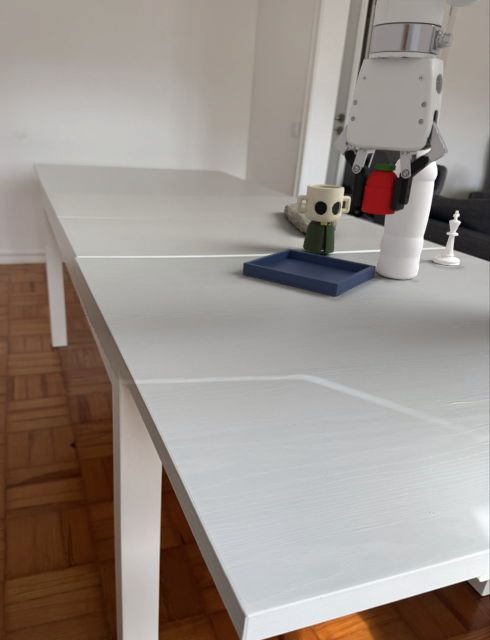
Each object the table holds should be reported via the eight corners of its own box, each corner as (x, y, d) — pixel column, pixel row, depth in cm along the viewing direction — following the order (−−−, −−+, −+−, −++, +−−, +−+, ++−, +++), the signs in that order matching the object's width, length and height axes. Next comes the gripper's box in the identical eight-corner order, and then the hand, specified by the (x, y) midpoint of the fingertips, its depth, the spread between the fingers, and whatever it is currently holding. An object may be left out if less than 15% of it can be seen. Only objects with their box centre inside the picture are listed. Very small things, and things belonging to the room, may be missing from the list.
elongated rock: (312, 218, 156) (277, 218, 156) (313, 198, 154) (277, 199, 154) (345, 237, 123) (301, 238, 123) (346, 213, 121) (302, 214, 121)
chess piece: (428, 261, 108) (438, 210, 104) (440, 258, 111) (450, 208, 107) (452, 267, 105) (464, 214, 101) (463, 263, 108) (475, 211, 104)
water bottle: (393, 282, 93) (422, 123, 83) (367, 271, 99) (391, 121, 89) (425, 278, 96) (457, 125, 86) (397, 268, 102) (424, 123, 92)
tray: (374, 277, 96) (376, 266, 95) (335, 296, 84) (337, 284, 84) (287, 258, 105) (288, 248, 104) (242, 274, 94) (243, 262, 93)
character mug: (297, 256, 107) (304, 188, 102) (287, 248, 113) (293, 183, 108) (350, 257, 109) (359, 189, 104) (337, 248, 115) (345, 184, 110)
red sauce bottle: (399, 212, 71) (407, 165, 69) (388, 215, 68) (396, 167, 66) (368, 208, 74) (375, 162, 71) (356, 211, 70) (362, 164, 68)
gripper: (488, 48, 62) (453, 212, 69) (348, 51, 71) (331, 197, 78) (472, 40, 56) (436, 220, 63) (323, 44, 65) (306, 202, 72)
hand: (378, 206), depth 71 cm, fingers closed on red sauce bottle, 4 cm apart
